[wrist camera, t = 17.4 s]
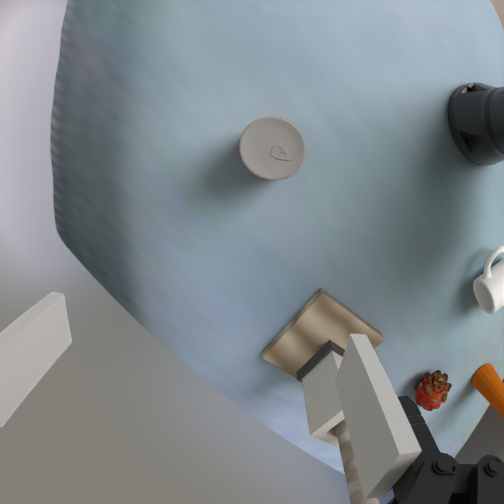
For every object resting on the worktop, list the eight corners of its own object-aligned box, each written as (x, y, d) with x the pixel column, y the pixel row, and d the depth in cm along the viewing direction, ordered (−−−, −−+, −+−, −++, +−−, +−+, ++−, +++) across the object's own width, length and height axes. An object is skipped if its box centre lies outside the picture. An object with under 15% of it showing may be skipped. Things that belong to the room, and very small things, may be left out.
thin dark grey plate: (329, 339, 46) (331, 346, 44) (362, 361, 48) (366, 368, 46) (296, 372, 48) (297, 379, 47) (330, 390, 50) (332, 398, 48)
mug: (506, 280, 50) (528, 295, 43) (475, 303, 52) (495, 321, 44) (499, 232, 47) (523, 244, 40) (466, 255, 49) (489, 270, 41)
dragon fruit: (424, 356, 58) (426, 385, 62) (405, 386, 54) (408, 412, 59) (457, 367, 51) (454, 395, 55) (439, 399, 47) (437, 424, 52)
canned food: (292, 179, 46) (301, 185, 36) (240, 171, 46) (233, 175, 36) (300, 130, 44) (311, 122, 34) (247, 121, 44) (243, 111, 34)
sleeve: (331, 350, 45) (348, 404, 33) (361, 369, 46) (382, 421, 34) (301, 379, 46) (309, 435, 35) (332, 395, 48) (345, 449, 36)
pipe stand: (320, 288, 52) (381, 456, 19) (381, 333, 54) (457, 477, 22) (262, 351, 56) (259, 522, 23) (324, 387, 58) (355, 536, 26)
